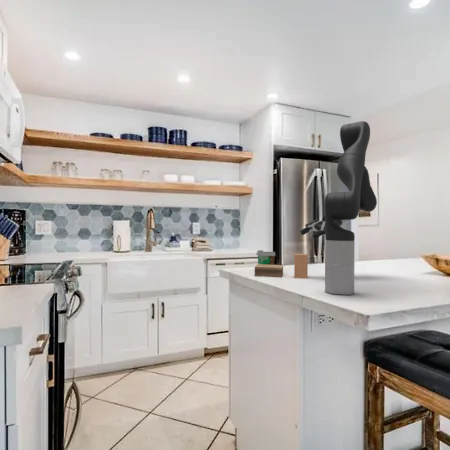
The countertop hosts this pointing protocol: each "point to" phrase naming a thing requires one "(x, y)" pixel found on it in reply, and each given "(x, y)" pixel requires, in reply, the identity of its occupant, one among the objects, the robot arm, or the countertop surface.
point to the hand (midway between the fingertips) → (307, 234)
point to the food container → (265, 257)
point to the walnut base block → (269, 270)
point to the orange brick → (301, 266)
